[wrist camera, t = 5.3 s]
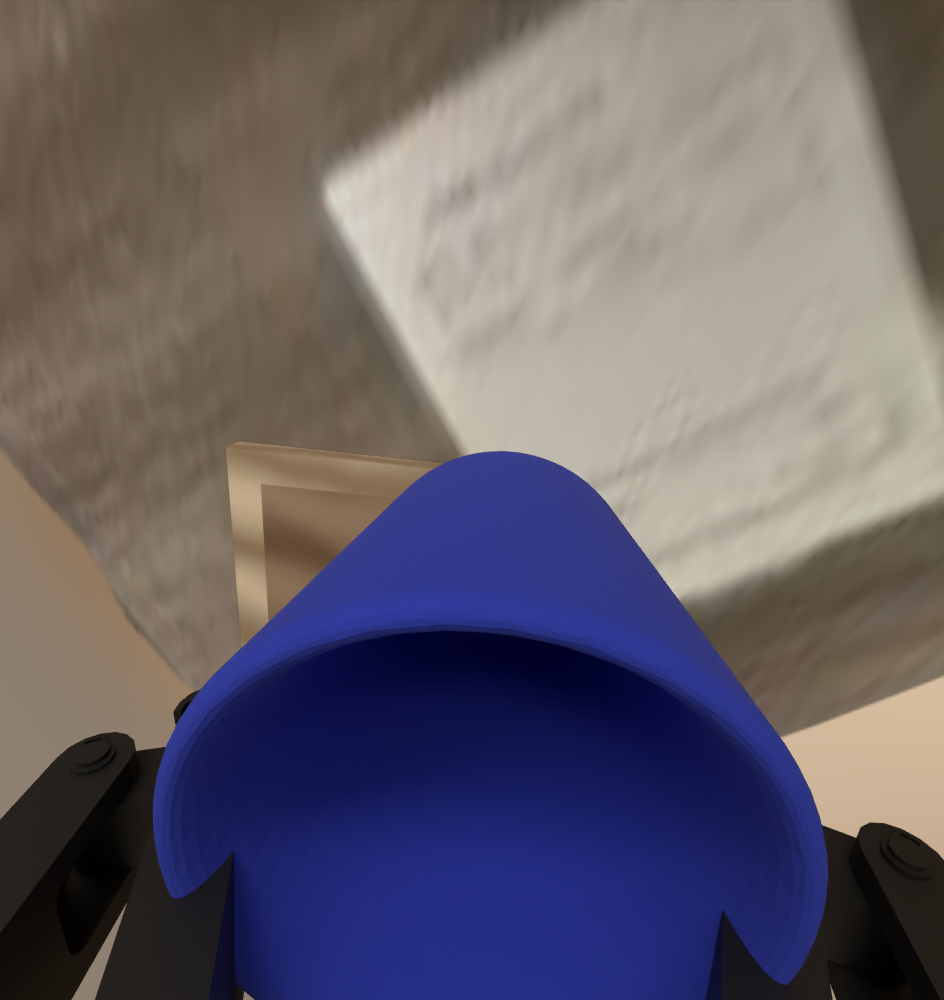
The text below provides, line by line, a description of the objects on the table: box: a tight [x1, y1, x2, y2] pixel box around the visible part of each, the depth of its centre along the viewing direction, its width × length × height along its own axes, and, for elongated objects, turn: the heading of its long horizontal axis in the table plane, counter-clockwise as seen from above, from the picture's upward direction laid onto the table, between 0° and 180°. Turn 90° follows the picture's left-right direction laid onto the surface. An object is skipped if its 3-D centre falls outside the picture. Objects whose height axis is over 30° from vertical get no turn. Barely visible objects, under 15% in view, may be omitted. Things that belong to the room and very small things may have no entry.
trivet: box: [226, 441, 444, 647], centre depth 33 cm, size 14×14×2 cm
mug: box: [153, 451, 828, 1000], centre depth 12 cm, size 8×12×10 cm
